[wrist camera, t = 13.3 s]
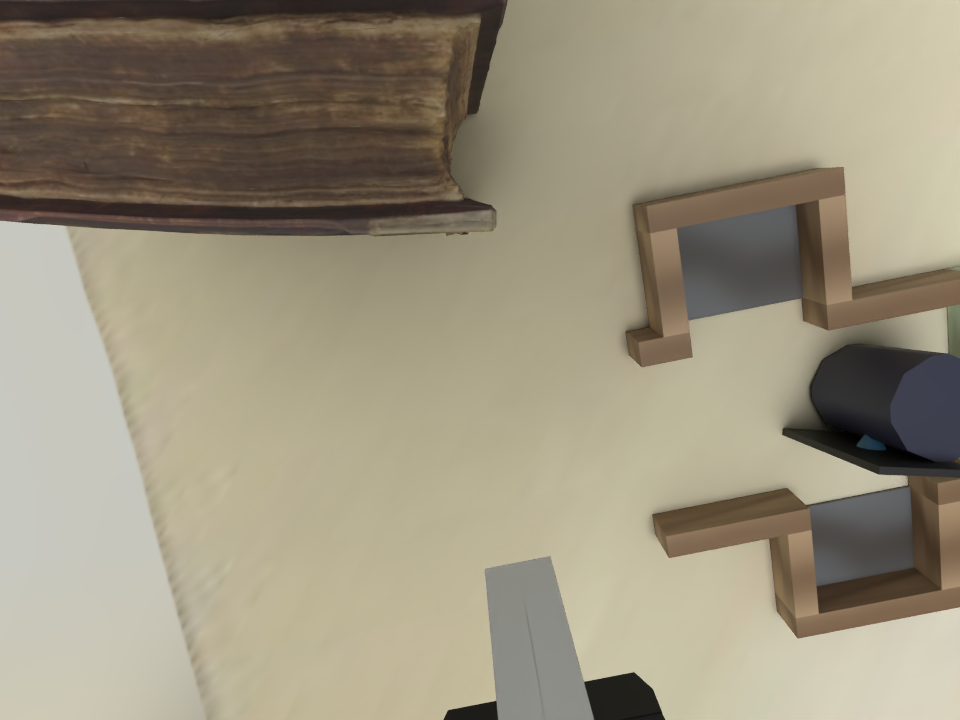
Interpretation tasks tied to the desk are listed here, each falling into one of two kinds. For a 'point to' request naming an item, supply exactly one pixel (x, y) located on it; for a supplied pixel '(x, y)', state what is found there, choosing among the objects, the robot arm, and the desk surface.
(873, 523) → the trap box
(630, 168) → the desk surface
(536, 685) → the robot arm
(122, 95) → the book
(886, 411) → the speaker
